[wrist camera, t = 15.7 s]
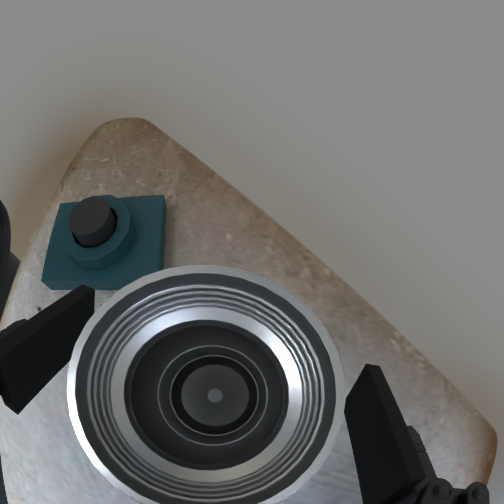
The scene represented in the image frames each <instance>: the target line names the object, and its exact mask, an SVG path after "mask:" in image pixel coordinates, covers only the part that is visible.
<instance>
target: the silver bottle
mask: <svg viewBox="0 0 504 504" xmlns="http://www.w3.org/2000/svg"><path fill="white" fill-rule="evenodd" d="M67 399H68V406H69V413H70V418H71V421H72V424H73V427H74V430H75V432H76V435H77V438H78V440H79V442H80V444H81V446H82V447H83V449H84V451H85V452H86V454H87V455H88V457H89V459H90V460H91V462H92V463H93V465H94V466H95V467H96V468H97V469H98V470H99V471H100V472H101V473H102V474H103V475H104V477H105V478H106V479H107V480H108V481H109V482H110V483H111V484H112V485H114V486H115V487H116V488H118V489H119V490H120V491H122V492H123V493H125V494H126V495H128V496H129V497H131V498H132V499H133V500H135V501H137V502H139V503H141V504H277V503H279V502H281V501H282V500H284V499H285V498H287V497H288V496H290V495H292V494H293V493H295V492H296V491H298V490H299V489H300V488H301V487H302V486H303V485H304V484H305V483H306V482H307V481H308V480H309V479H310V478H311V477H312V476H313V475H314V474H315V473H316V472H317V471H318V470H319V468H320V467H321V466H322V464H323V463H324V461H325V460H326V458H327V457H328V455H329V453H330V452H331V450H332V449H333V446H334V444H335V441H336V439H337V436H338V433H339V431H340V428H341V425H342V420H343V414H344V408H345V401H346V397H345V380H344V373H343V369H342V365H341V362H340V358H339V354H338V351H337V349H336V347H335V345H334V343H333V341H332V339H331V337H330V335H329V333H328V331H327V329H326V328H325V327H324V325H323V324H322V323H321V322H320V320H319V319H318V318H317V316H316V315H315V314H314V313H313V311H312V310H311V309H310V308H309V307H308V306H307V305H305V304H304V303H303V302H302V301H301V300H300V299H298V298H297V297H296V296H295V295H294V294H293V293H292V292H290V291H288V290H287V289H285V288H283V287H281V286H280V285H278V284H276V283H275V282H273V281H271V280H270V279H267V278H265V277H262V276H259V275H257V274H254V273H251V272H249V271H246V270H242V269H237V268H232V267H227V266H221V265H187V266H180V267H173V268H167V269H164V270H161V271H158V272H155V273H152V274H149V275H146V276H143V277H141V278H139V279H138V280H136V281H134V282H132V283H130V284H128V285H126V286H125V287H123V288H121V289H120V290H119V291H117V292H116V293H115V294H114V295H112V296H111V297H110V298H109V299H108V300H106V301H105V302H104V303H103V304H102V305H101V306H100V307H99V308H98V310H97V311H96V312H95V313H94V314H93V316H92V317H91V318H90V319H89V320H88V322H87V323H86V325H85V327H84V328H83V330H82V332H81V334H80V336H79V338H78V340H77V342H76V344H75V346H74V350H73V353H72V356H71V360H70V364H69V367H68V378H67Z"/></svg>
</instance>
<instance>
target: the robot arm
mask: <svg viewBox="0 0 504 504" xmlns="http://www.w3.org/2000/svg"><path fill="white" fill-rule="evenodd" d="M94 297H95V289H93V288H90V287H88V286H85V285H83V284H82V285H81V286H79V287H77V288H76V289H74V290H73V291H71V292H70V293H68V294H66V295H65V296H63V297H62V298H60V299H59V300H57V301H56V302H54V303H53V304H51V305H50V306H48V307H47V308H45V309H44V310H42V311H41V312H39V313H38V314H36V315H35V316H33V317H32V318H30V319H29V320H26V319H22V320H19V321H16V322H14V323H12V324H11V325H9V326H8V327H7V328H6V329H3V330H2V331H1V332H0V395H1V396H2V399H3V401H4V403H5V405H6V406H7V407H9V408H10V409H11V410H12V411H14V412H15V413H16V414H17V415H18V414H19V413H20V412H21V411H22V410H23V409H24V407H25V406H26V405H27V404H28V403H29V402H30V401H31V400H32V399H33V398H34V397H35V396H36V395H37V394H38V393H39V391H40V390H41V389H42V388H43V387H44V386H45V385H46V384H47V383H48V382H49V381H50V380H51V379H52V378H53V377H54V376H55V375H56V374H57V373H58V372H59V371H60V370H61V369H62V368H63V367H64V366H65V365H66V364H67V363H68V362H69V361H70V360H71V356H72V353H73V350H74V346H75V344H76V342H77V340H78V338H79V336H80V334H81V332H82V330H83V328H84V327H85V325H86V323H87V322H88V320H89V319H90V318H91V317H92V316H93V314H94ZM344 414H345V418H346V422H347V427H348V431H349V436H350V440H351V445H352V449H353V454H354V459H355V464H356V469H357V474H358V479H359V484H360V489H361V495H362V500H363V504H489V491H488V489H487V487H486V486H485V485H484V484H483V483H481V482H474V483H472V484H470V485H469V486H468V487H467V488H466V489H457V488H453V487H452V486H451V484H450V483H449V482H448V481H446V480H445V479H441V478H437V476H436V474H435V471H434V469H433V466H432V464H431V461H430V459H429V456H428V454H427V452H425V451H426V449H425V447H424V445H422V444H423V442H422V440H421V438H420V435H419V434H418V432H417V431H416V430H415V429H414V428H413V427H412V426H406V423H405V421H404V419H403V416H402V414H401V412H400V410H399V407H398V405H397V403H396V401H395V398H394V396H393V394H392V392H391V390H390V387H389V385H388V383H387V381H386V379H385V377H384V375H383V372H382V370H381V368H380V366H377V365H370V364H366V365H365V367H364V368H363V370H362V372H361V374H360V376H359V377H358V379H357V381H356V383H355V384H354V386H353V388H352V389H351V391H350V393H349V394H348V396H347V398H346V401H345V408H344ZM0 504H8V501H7V497H6V492H5V486H4V480H3V473H2V466H1V456H0Z"/></svg>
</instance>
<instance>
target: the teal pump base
mask: <svg viewBox="0 0 504 504" xmlns="http://www.w3.org/2000/svg"><path fill="white" fill-rule="evenodd" d="M94 197H101V198H103V199H105V200H106V201H107V202H108V204H109V206H110V209H111V211H112V213H113V215H114V218H115V223H116V224H115V229H114V232H113V234H112V235H111V237H110V238H109V239H108V240H107V241H106V242H104V243H103V244H101V245H99V246H95V247H87V246H84V245H82V244H81V243H80V242H79V241H78V239H77V238H76V236H75V235H74V233H73V232H72V230H71V229H70V227H69V216H70V213H71V211H72V210H73V208H74V207H75V206H76V205H77V204H78V203H79V202H71V203H62V204H60V207H59V210H58V213H57V216H56V220H55V223H54V227H53V231H52V234H51V238H50V242H49V246H48V250H47V255H46V259H45V264H44V268H43V274H42V279H41V281H42V282H43V283H44V284H45V285H47V286H48V287H49V288H50V289H51V290H74V289H76V288H77V287H79V286H81V285H82V284H83V285H85V286H88V287H90V288H93V289H95V290H117V289H121V288H123V287H125V286H126V285H128V284H130V283H132V282H134V281H136V280H138V279H139V278H141V277H143V276H146V275H149V274H152V273H155V272H158V271H161V270H163V257H164V237H165V221H166V203H165V198H164V195H154V196H138V197H124V198H116V197H114V196H111V195H103V196H94ZM80 202H81V201H80Z"/></svg>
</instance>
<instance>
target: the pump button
mask: <svg viewBox="0 0 504 504" xmlns="http://www.w3.org/2000/svg"><path fill="white" fill-rule="evenodd" d="M115 224H116V223H115V218H114V215H113V213H112V211H111V209H110V206H109V204H108V202H107V201H106V200H105V199H103V198H101V197H89V198H86V199H84V200H82V201H81V202H79V203H78V204H77V205H76V206H75V207H74V208H73V210H72V211H71V213H70V216H69V227H70V229H71V230H72V232H73V233H74V235H75V236H76V238H77V239H78V241H79V242H80V243H81V244H82V245H84V246H87V247H95V246H99V245H101V244H103V243H104V242H106V241H107V240H108V239H109V238H110V237H111V235H112V234H113V232H114V229H115Z"/></svg>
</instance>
